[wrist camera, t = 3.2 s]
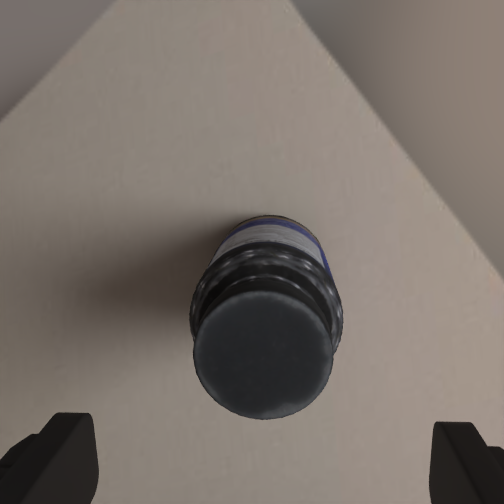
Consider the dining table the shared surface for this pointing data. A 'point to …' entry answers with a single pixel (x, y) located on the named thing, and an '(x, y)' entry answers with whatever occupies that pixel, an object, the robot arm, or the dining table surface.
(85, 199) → the dining table surface
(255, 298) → the pill bottle
